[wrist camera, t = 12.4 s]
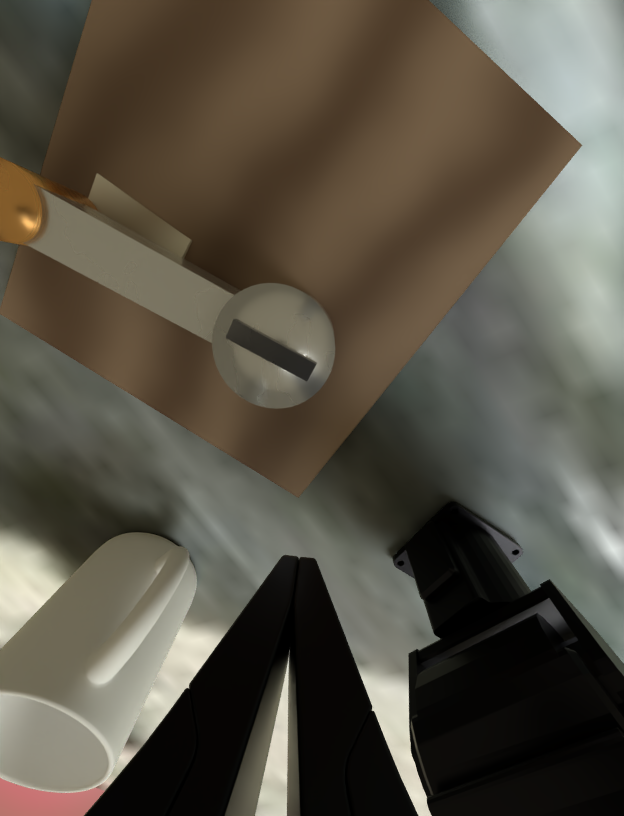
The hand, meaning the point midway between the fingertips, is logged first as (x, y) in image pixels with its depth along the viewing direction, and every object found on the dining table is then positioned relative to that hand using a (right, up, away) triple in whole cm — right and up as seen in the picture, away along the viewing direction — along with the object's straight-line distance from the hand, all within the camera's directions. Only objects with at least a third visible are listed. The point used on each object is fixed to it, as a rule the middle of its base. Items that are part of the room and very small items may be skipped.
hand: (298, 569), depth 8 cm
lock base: (-3, +13, +9) cm, 16 cm away
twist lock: (-6, +10, +8) cm, 14 cm away
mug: (-11, -8, +16) cm, 21 cm away
